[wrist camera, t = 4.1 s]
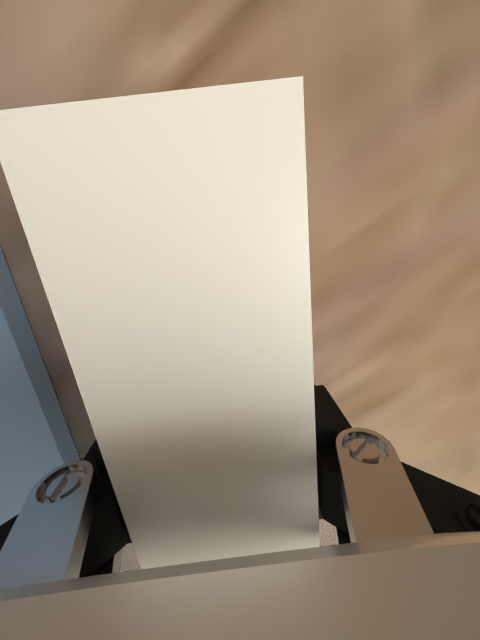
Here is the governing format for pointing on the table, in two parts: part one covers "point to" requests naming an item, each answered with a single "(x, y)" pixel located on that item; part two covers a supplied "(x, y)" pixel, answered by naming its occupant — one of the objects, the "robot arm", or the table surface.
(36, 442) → the board
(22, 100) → the table surface
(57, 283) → the beam
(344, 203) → the table surface
